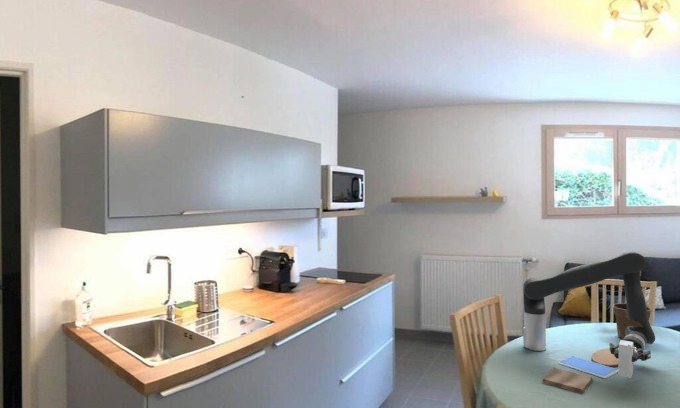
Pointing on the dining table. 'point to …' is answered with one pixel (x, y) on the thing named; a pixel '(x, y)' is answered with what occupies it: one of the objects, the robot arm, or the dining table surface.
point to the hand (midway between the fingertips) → (624, 357)
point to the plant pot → (625, 318)
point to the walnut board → (568, 380)
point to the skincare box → (625, 359)
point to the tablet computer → (589, 367)
